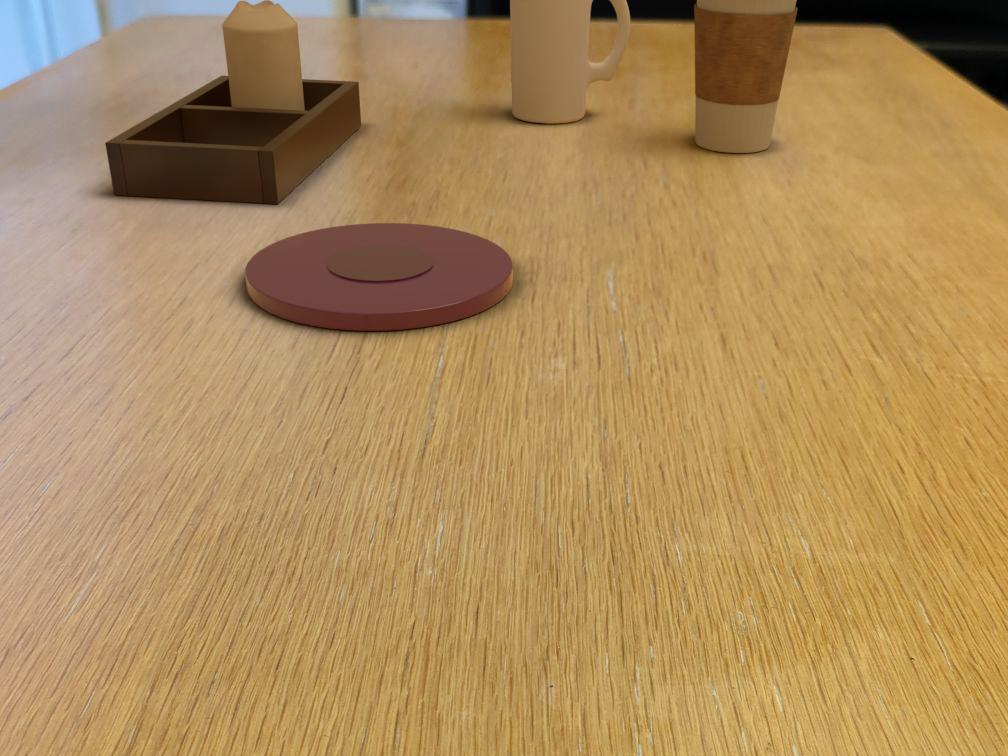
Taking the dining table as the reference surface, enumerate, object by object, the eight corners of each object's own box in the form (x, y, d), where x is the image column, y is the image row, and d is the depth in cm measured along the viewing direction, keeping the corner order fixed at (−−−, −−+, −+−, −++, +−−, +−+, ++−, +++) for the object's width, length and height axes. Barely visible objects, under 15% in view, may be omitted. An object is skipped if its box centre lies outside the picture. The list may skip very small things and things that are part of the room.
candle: (222, 144, 94) (205, 5, 88) (258, 128, 98) (243, -6, 93) (285, 151, 92) (272, 10, 87) (319, 135, 97) (308, -1, 91)
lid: (207, 321, 63) (204, 301, 63) (293, 232, 76) (291, 214, 75) (489, 340, 62) (489, 319, 61) (529, 245, 74) (529, 228, 74)
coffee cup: (760, 163, 91) (785, -57, 83) (661, 146, 95) (675, -66, 87) (801, 140, 97) (828, -67, 89) (706, 126, 101) (723, -75, 93)
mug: (511, 125, 100) (512, -34, 94) (506, 106, 106) (506, -45, 100) (631, 124, 101) (640, -33, 95) (619, 106, 107) (627, -44, 100)
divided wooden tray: (113, 195, 82) (104, 142, 80) (226, 119, 100) (221, 75, 99) (278, 204, 81) (272, 151, 79) (361, 126, 99) (358, 81, 97)
